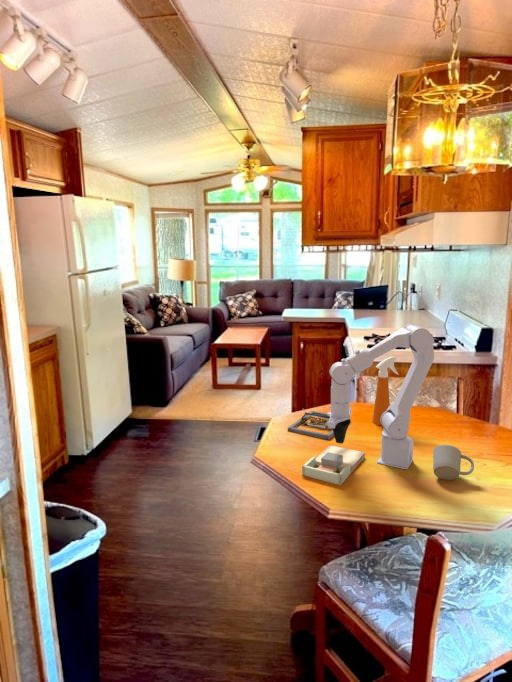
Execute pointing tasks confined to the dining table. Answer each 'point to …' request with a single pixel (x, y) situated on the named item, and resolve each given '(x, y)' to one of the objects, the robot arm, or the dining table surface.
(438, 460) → the ceramic mug
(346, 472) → the tray
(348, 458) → the board
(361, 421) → the dining table surface
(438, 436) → the dining table surface
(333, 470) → the tile terracotta
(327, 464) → the tile slate
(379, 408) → the spray bottle
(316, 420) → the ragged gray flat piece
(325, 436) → the gray open frame
